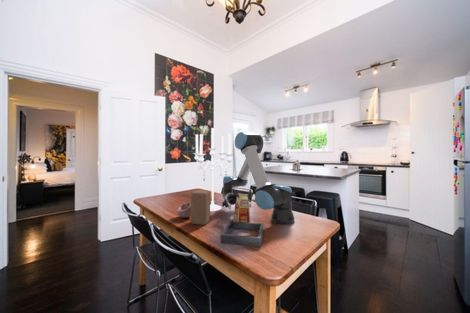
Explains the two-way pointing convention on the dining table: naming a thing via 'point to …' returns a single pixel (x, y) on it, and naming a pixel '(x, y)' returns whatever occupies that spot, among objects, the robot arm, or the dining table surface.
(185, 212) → the mortar and pestle
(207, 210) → the wooden block
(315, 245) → the dining table surface
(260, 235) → the carton holder
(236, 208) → the milk carton
